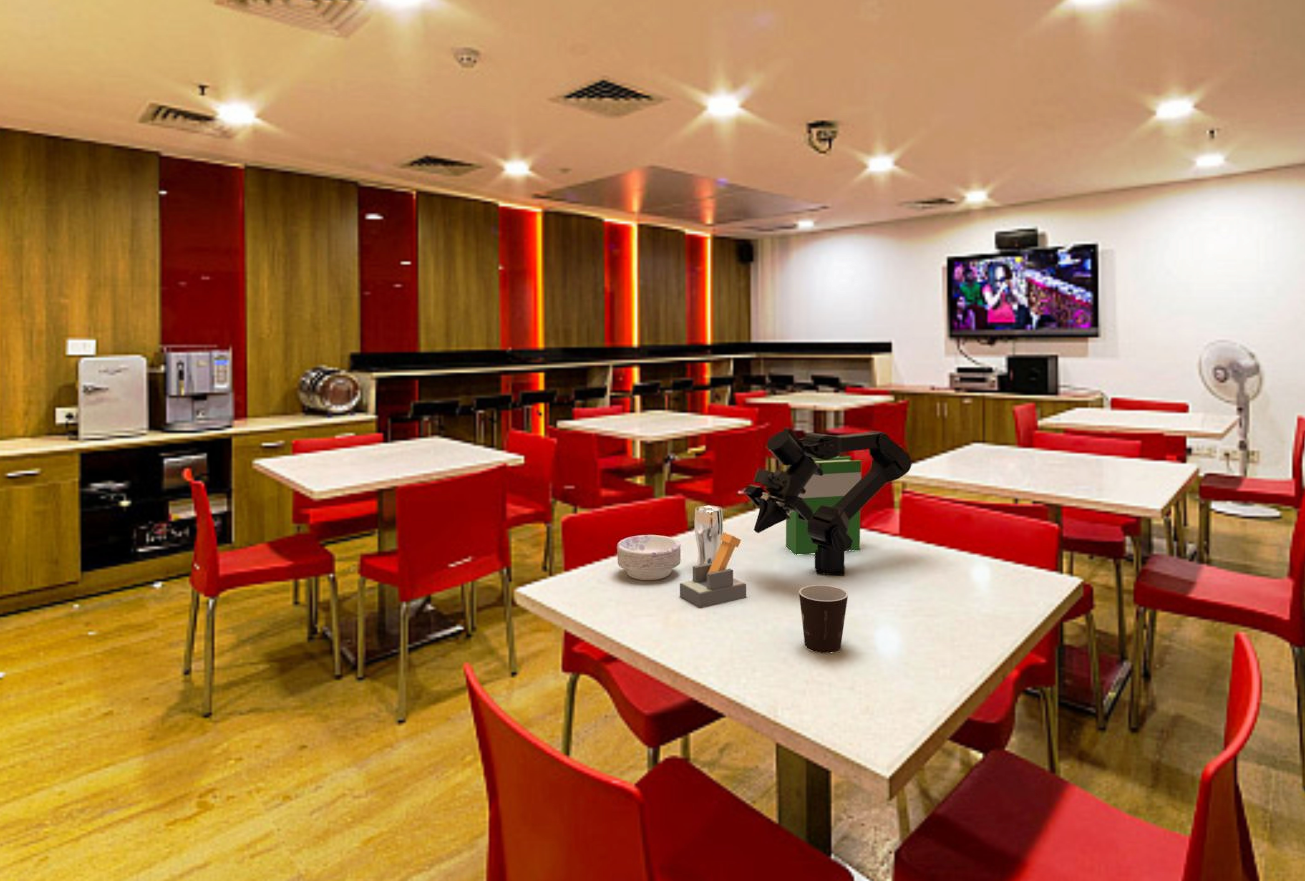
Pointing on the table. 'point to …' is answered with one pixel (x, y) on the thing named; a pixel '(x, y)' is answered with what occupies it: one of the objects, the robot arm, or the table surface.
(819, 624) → the coffee mug
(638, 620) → the table surface
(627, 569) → the paper bowls
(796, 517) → the hardback book
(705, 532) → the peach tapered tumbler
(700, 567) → the breaker block
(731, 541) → the breaker lever
